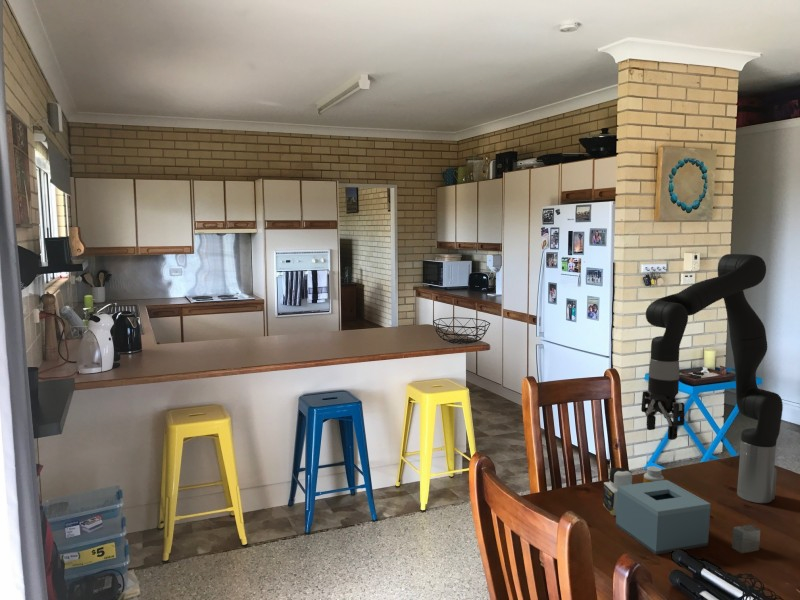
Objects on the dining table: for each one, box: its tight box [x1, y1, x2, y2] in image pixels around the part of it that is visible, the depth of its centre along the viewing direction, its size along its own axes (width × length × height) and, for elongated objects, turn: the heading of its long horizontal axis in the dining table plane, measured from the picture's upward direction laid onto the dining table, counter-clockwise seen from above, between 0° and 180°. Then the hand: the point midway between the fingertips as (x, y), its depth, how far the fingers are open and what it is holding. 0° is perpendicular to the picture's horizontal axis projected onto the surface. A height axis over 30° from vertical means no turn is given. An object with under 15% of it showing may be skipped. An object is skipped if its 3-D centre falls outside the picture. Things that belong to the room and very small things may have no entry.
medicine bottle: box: [602, 467, 633, 517], centre depth 181 cm, size 7×7×12 cm
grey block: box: [731, 524, 761, 554], centre depth 159 cm, size 6×3×6 cm, turn 107°
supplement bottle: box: [642, 465, 665, 483], centre depth 186 cm, size 6×6×10 cm
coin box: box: [615, 479, 712, 555], centre depth 166 cm, size 16×16×11 cm
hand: (661, 434), depth 170 cm, fingers open, 8 cm apart
